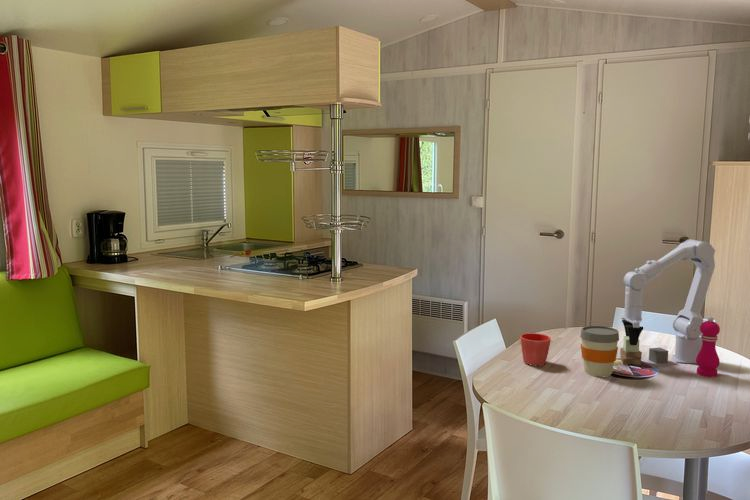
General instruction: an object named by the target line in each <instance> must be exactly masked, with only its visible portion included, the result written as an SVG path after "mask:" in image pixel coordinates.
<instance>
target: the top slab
mask: <svg viewBox="0 0 750 500" xmlns="http://www.w3.org/2000/svg"><path fill="white" fill-rule="evenodd" d="M619 348H620V349H619V350H620V351H619V353H620V354H619V355H620V356H623V357H624V358H625V359H641V360H642V353H643V352H641V351H640V350H639V352H625V350H624V349H623V347H619Z"/></svg>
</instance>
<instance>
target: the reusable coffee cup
mask: <svg viewBox="0 0 750 500" xmlns="http://www.w3.org/2000/svg"><path fill="white" fill-rule="evenodd" d="M580 329H581V331H580V338H581V344H580V351H581V358H582V359H583V368H584V373H585V374H587V375H588V376H589V375H590V376H593V377H601V378H603V377H604V378H606V377H610V376H612V375H611V374H613V370H614V363H615V362H616V360H617V356H618V351H619V347H618V342H619V341H620V335H619V334H620V332H619V330H618V329H616V328H613V327H610V326H604V325H587V326H583V327H581V328H580Z"/></svg>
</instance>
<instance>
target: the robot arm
mask: <svg viewBox="0 0 750 500" xmlns="http://www.w3.org/2000/svg"><path fill="white" fill-rule="evenodd" d="M715 253H716V249H715V248H714V247H713V246H712V244H711V243H710V242H708V241H703V240H702V241H701V240H696V239H694V238H688V239H686V240H685V241H683V242H681V243H679V245H678V246H676V247H675V248H674V249H673V250H671V251H670V252H668V253H667V254H665V255H664V256H662V257H661V258H659V259H658V260H655V259H654V260H653V259H651V260H647V261H646V262H645V264H643V265H642V266H640V267H636V268H635V269H634V270H633V271H628V272H627V273H626V274H625V275H624V277H623V278H622V283H623V285H624V286H625V292H624V313H623V315H624V316H620V319H621V322H622V324H623V326H624V333H625V336H629V342H630V345H637V342H638V339H639V338H640V335H641V334H642V332H643V330H644V326H640V324H641V322H642V321H643V318H642V312H643V310H642V309H643V294H644V293H643V292H644V289H645V288H646V286H647V284H648V283H649V282H651V281H652V280H654V279H655V278H657V277H659V276H660V275H662V274H663V272H664V271H663V270H664V269H665V268H668V267H670V266H671V265H673V264H675V263H677V262H678V261H680V260H682V259H690V260H691V261H692V263H694V265H695V267H696V268H695V269H696V270H695V272H694V276H693V278H692V281H691V285H690V288H689V291H688V295H687V297H686V302H685V305H684V307H683V309H681V310H680V311H678V314H677V316H676V317H675V318H674V320H673V322H672V328H673V329H674V331H675V346H674V347H675V349H674V354H671V357H672V359H673V360H674V361H675V362H676V363H679V364H681V363H682V364H696V365H697V363H696V357H697V355H698V353H699V351H700V350H701V347H702V339H701V335H702V333H701V331H700V326H701V324H702V323H703V322H704V319H703V315H702V314H701V311H702V309H703V305H704V302H705V298H706V296H707V293H708V290H709V286H710V283H711V280H712V277H713V274H714V271H715V267H716V263H715ZM639 340H640V339H639Z"/></svg>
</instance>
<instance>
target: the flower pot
mask: <svg viewBox="0 0 750 500" xmlns="http://www.w3.org/2000/svg"><path fill="white" fill-rule="evenodd" d="M551 341H552V338H551V337H550V336H548V334H542V333H536V332H535V333H533V332H530V333H528V332H527V333H523V334H521V335H520V345H521V354H522V359H523V363H524V362H525V363H527V364H526V365H528V364H531V365H530V366H532V365H542V366H544V364H545V365H546V362H547V358H548V354H549V349H550V345H551ZM525 363H524V364H525Z"/></svg>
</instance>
